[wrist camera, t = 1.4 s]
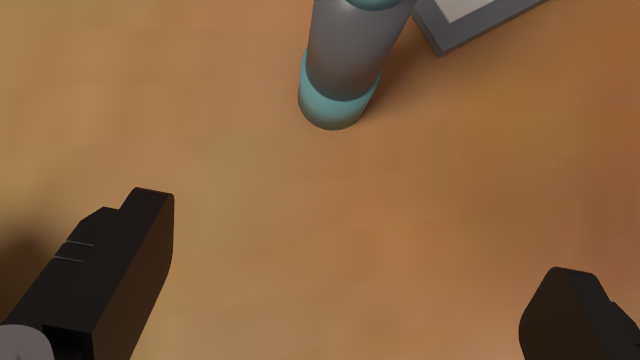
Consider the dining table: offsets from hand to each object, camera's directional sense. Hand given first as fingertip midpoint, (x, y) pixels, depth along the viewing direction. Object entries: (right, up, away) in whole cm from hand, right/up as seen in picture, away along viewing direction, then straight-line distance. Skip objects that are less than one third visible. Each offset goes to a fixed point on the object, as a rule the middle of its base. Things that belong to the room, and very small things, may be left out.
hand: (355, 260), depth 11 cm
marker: (0, +7, +23) cm, 24 cm away
